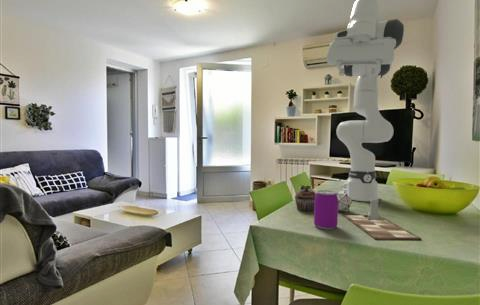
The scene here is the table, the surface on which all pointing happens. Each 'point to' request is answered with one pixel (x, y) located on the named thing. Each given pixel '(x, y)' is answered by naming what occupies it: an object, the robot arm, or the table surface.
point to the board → (381, 228)
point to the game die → (344, 202)
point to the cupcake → (305, 199)
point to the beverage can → (326, 209)
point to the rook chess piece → (373, 210)
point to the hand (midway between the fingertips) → (356, 74)
